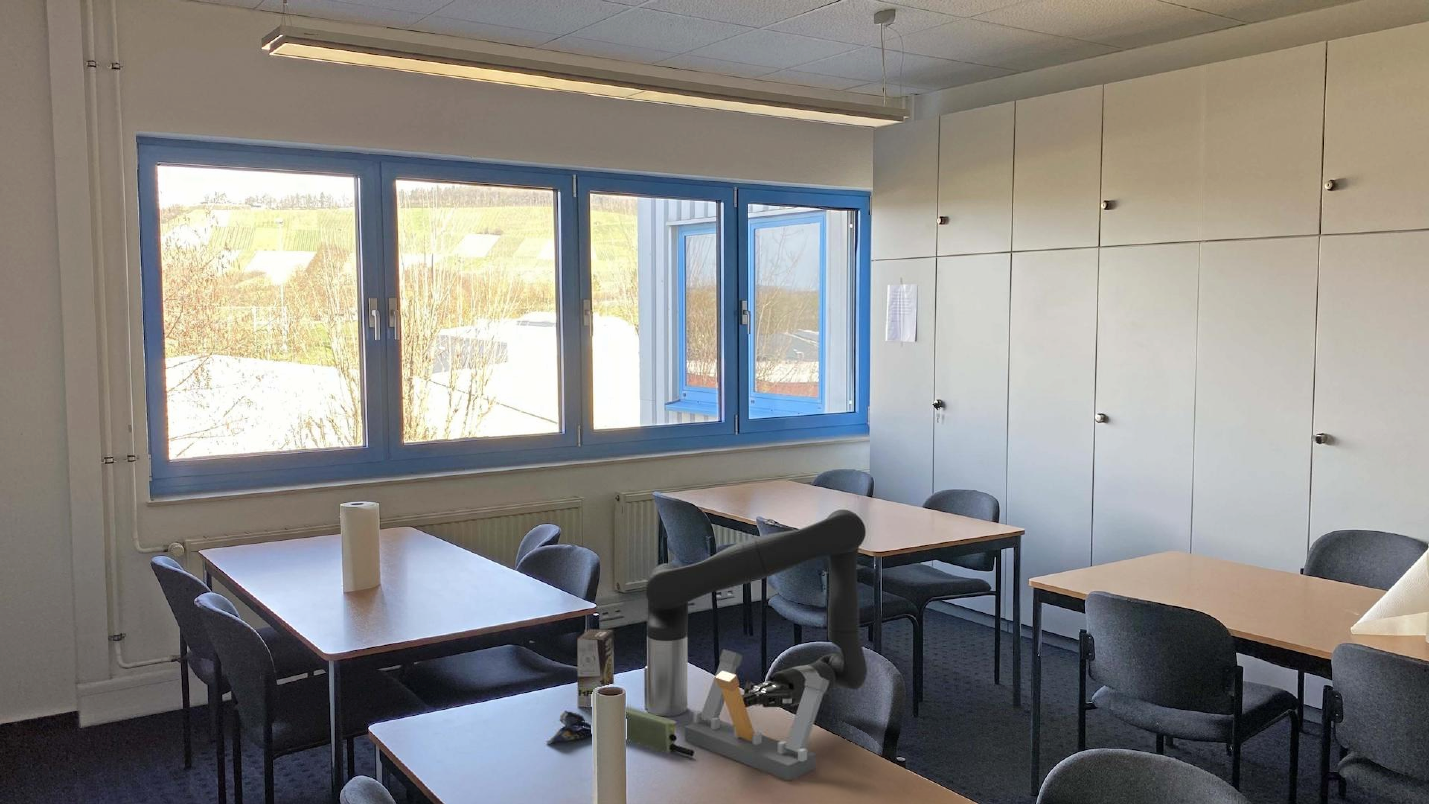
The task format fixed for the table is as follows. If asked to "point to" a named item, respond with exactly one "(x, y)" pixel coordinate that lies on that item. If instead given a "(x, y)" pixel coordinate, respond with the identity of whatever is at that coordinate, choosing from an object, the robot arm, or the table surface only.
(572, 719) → the snack package
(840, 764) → the table surface
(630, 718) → the handheld radio
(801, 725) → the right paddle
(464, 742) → the table surface
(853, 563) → the robot arm
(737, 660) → the left paddle
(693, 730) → the pegged base beam
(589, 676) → the coffee box
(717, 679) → the orange paddle
